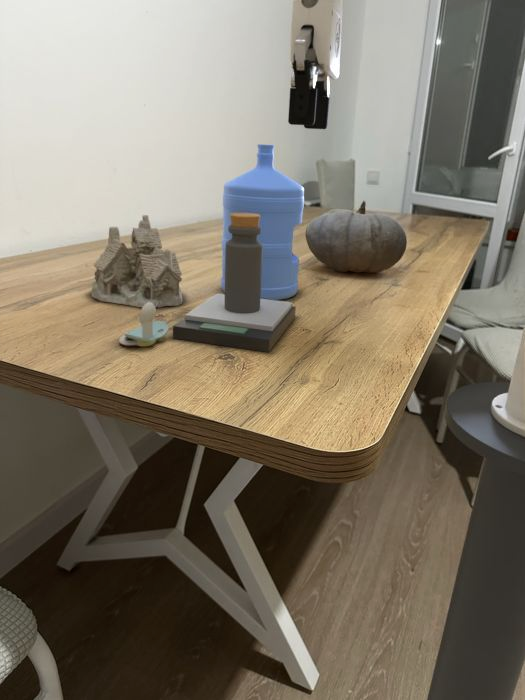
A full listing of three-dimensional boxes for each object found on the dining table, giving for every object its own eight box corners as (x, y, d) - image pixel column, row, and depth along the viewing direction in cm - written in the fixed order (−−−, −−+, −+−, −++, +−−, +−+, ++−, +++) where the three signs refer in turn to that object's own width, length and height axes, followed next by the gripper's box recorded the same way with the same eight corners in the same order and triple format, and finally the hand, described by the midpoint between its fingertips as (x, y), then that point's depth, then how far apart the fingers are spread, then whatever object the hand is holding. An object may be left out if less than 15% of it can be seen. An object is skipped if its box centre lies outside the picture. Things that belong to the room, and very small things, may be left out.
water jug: (245, 306, 96) (251, 143, 86) (207, 286, 108) (209, 142, 98) (312, 297, 104) (325, 147, 94) (270, 279, 116) (277, 145, 106)
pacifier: (109, 346, 74) (144, 353, 72) (105, 304, 72) (141, 310, 70) (141, 332, 80) (173, 337, 78) (138, 292, 78) (171, 297, 76)
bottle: (218, 310, 83) (219, 214, 78) (233, 301, 88) (235, 211, 83) (251, 315, 81) (255, 218, 76) (265, 306, 86) (269, 214, 81)
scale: (294, 317, 91) (296, 302, 90) (268, 352, 75) (269, 334, 74) (214, 307, 94) (214, 292, 93) (172, 338, 78) (172, 320, 77)
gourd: (317, 269, 115) (328, 189, 112) (288, 264, 139) (296, 198, 136) (418, 281, 121) (431, 205, 118) (374, 274, 145) (383, 211, 142)
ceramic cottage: (88, 287, 101) (86, 210, 95) (171, 286, 108) (174, 213, 102) (96, 316, 88) (94, 228, 82) (190, 313, 95) (194, 231, 89)
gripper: (342, -59, 53) (326, 124, 59) (359, -10, 68) (345, 131, 74) (271, -56, 54) (263, 121, 61) (303, -9, 70) (294, 129, 76)
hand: (308, 126), depth 67 cm, fingers open, 9 cm apart
